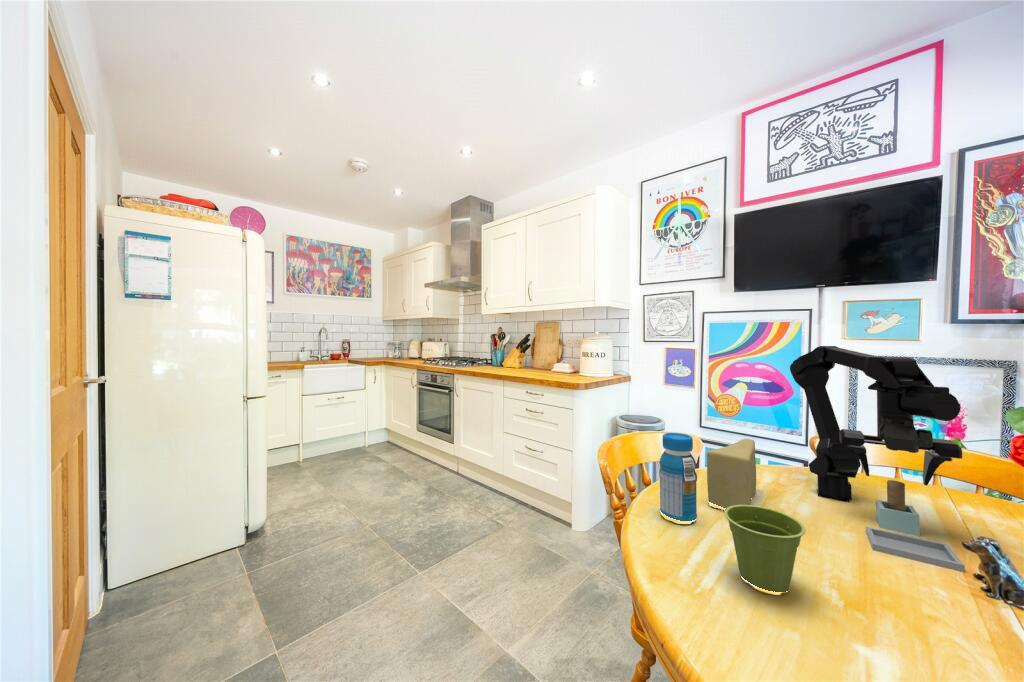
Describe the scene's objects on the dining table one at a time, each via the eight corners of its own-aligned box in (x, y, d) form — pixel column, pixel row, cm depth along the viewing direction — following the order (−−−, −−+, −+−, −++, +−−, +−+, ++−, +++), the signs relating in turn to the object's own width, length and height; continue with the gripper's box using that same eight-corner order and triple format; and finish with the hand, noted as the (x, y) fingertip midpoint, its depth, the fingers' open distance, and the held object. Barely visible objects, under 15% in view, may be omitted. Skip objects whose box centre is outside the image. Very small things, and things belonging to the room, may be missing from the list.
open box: (880, 530, 82) (880, 508, 82) (875, 520, 87) (875, 499, 87) (919, 538, 79) (919, 515, 79) (912, 527, 84) (912, 505, 84)
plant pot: (712, 562, 71) (711, 504, 71) (774, 563, 70) (774, 504, 70) (750, 606, 59) (749, 535, 59) (825, 607, 58) (824, 536, 58)
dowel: (889, 527, 83) (888, 482, 83) (886, 522, 85) (885, 479, 85) (907, 530, 81) (906, 485, 81) (904, 525, 83) (903, 481, 83)
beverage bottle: (659, 522, 87) (658, 438, 87) (659, 507, 94) (658, 430, 95) (699, 529, 83) (698, 441, 84) (695, 513, 91) (695, 433, 91)
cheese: (733, 484, 110) (733, 434, 110) (772, 494, 103) (771, 441, 103) (706, 506, 95) (705, 449, 95) (749, 519, 88) (748, 457, 88)
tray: (872, 552, 74) (872, 543, 74) (865, 534, 81) (865, 526, 81) (965, 575, 66) (964, 565, 66) (947, 553, 73) (947, 544, 73)
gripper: (843, 412, 83) (844, 481, 82) (972, 423, 71) (973, 503, 71) (838, 405, 91) (839, 468, 91) (952, 414, 80) (953, 485, 80)
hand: (895, 480), depth 83 cm, fingers open, 9 cm apart
